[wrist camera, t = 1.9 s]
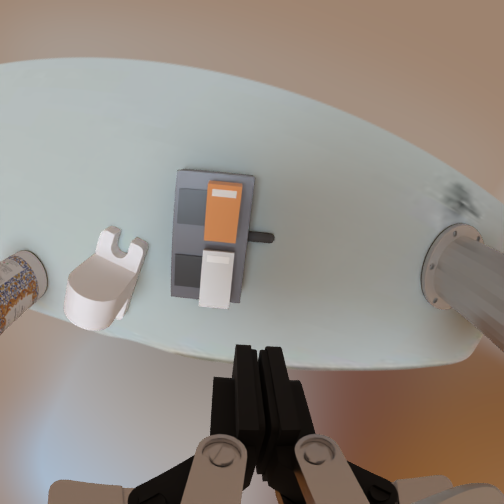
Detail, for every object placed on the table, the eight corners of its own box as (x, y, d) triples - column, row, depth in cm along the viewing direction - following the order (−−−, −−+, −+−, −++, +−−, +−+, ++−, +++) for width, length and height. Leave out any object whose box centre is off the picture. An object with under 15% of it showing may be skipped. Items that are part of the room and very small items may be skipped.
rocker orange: (242, 183, 24) (242, 187, 23) (235, 238, 27) (235, 243, 26) (209, 180, 24) (207, 183, 23) (205, 235, 26) (203, 240, 25)
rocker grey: (234, 252, 27) (234, 253, 26) (228, 306, 27) (228, 309, 26) (204, 249, 27) (203, 250, 26) (199, 303, 27) (198, 306, 26)
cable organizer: (150, 243, 30) (116, 279, 21) (126, 313, 33) (96, 363, 23) (109, 224, 29) (63, 252, 20) (90, 295, 32) (52, 339, 22)
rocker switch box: (282, 179, 29) (288, 182, 25) (265, 290, 33) (269, 306, 29) (183, 168, 28) (176, 170, 24) (176, 282, 32) (170, 297, 28)
